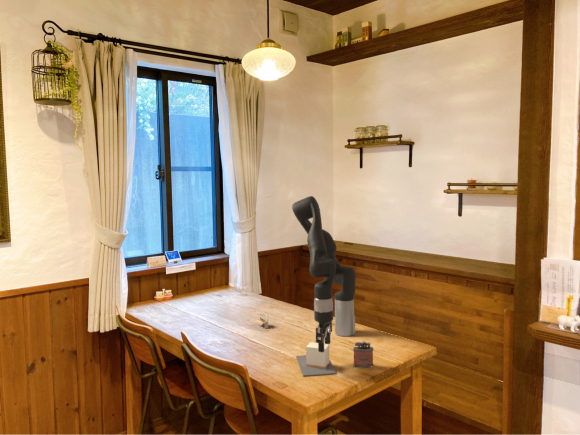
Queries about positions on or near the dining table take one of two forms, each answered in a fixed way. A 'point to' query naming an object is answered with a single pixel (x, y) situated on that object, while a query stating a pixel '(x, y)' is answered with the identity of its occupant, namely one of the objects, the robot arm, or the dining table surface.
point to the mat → (314, 368)
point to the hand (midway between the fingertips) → (324, 347)
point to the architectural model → (264, 320)
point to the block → (317, 356)
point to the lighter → (363, 354)
